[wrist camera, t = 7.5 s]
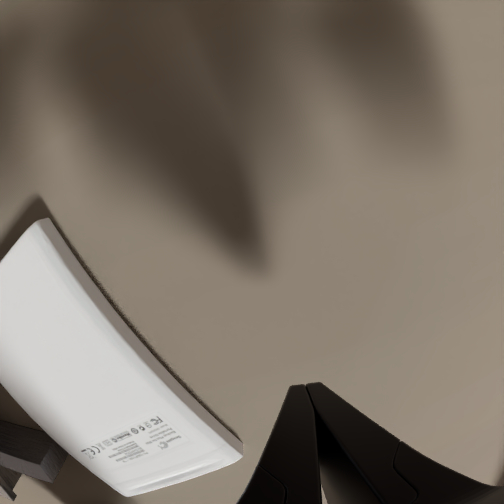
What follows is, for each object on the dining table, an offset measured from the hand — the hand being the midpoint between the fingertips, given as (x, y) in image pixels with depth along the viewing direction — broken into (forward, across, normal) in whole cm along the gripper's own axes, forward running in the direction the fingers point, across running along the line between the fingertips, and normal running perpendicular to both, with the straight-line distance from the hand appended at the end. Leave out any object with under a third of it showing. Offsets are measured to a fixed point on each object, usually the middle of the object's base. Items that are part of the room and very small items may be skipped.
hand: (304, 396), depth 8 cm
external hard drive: (+4, +9, +2) cm, 10 cm away
